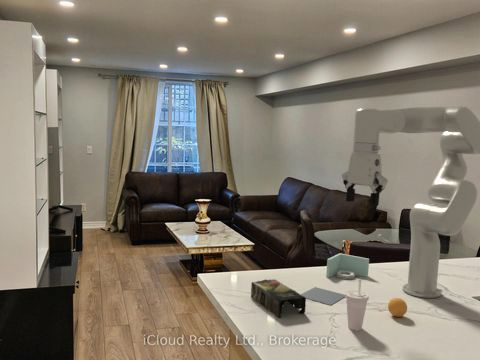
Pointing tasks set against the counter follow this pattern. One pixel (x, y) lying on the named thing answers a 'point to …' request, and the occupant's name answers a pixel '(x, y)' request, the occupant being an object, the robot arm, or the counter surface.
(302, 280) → the counter surface
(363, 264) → the right angle wall
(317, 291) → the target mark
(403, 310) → the ball
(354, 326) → the smoothie
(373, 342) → the counter surface
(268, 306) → the juice carton
